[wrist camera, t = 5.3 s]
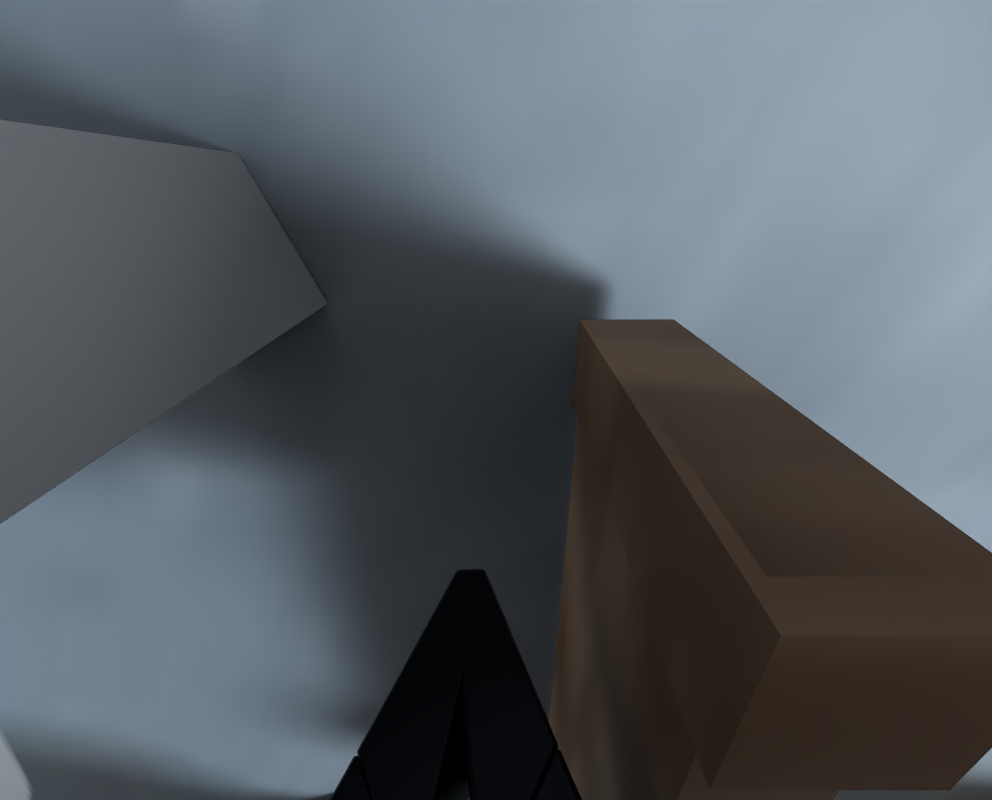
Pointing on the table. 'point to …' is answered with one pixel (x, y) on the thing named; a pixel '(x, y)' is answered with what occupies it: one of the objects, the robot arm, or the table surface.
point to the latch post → (124, 291)
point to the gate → (752, 595)
